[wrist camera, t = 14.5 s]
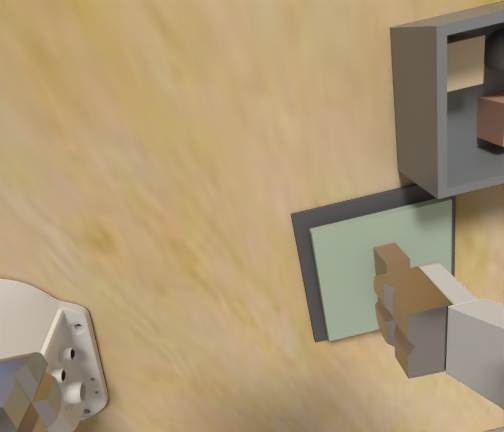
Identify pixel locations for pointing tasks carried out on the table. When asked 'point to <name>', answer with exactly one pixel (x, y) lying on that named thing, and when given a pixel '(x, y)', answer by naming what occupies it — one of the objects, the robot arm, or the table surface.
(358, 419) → the table surface
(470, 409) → the table surface
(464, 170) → the bin
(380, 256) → the lid
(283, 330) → the table surface
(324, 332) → the mat
